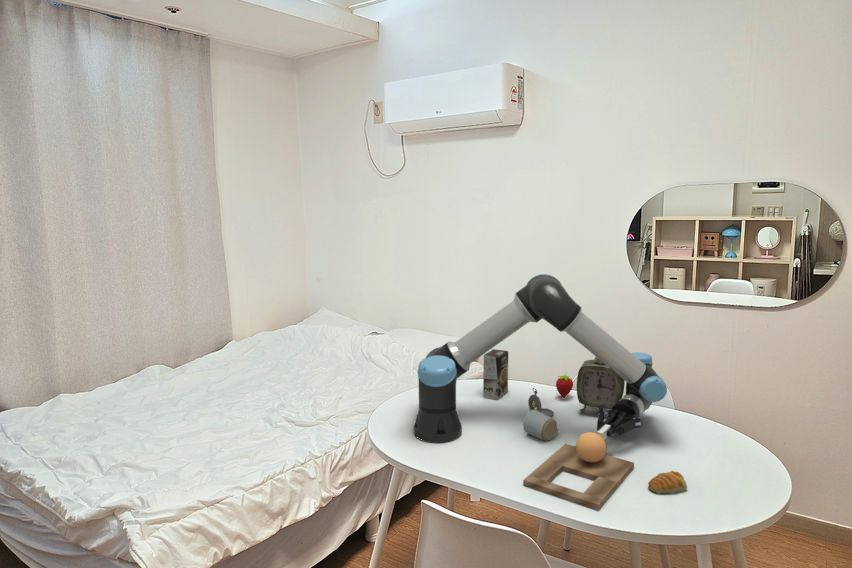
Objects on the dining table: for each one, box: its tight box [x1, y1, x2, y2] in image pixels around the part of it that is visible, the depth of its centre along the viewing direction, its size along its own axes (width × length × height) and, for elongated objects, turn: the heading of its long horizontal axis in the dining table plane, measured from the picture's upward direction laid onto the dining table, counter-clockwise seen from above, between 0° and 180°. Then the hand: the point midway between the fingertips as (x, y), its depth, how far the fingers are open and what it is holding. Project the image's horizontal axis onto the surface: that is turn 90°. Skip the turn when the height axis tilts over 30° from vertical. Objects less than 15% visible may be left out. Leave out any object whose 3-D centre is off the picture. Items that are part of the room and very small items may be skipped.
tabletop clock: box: [576, 356, 626, 415], centre depth 194 cm, size 14×9×25 cm, turn 65°
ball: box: [575, 431, 607, 463], centre depth 159 cm, size 8×8×8 cm
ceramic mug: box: [522, 409, 559, 441], centre depth 179 cm, size 11×8×8 cm
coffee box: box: [482, 348, 509, 400], centre depth 213 cm, size 9×6×16 cm
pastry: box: [647, 470, 688, 495], centre depth 148 cm, size 9×7×4 cm
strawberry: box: [555, 372, 574, 399], centre depth 209 cm, size 6×8×10 cm
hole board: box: [522, 443, 635, 511], centre depth 154 cm, size 20×26×2 cm
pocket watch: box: [527, 387, 554, 418], centre depth 194 cm, size 8×8×10 cm
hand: (599, 437), depth 162 cm, fingers closed
